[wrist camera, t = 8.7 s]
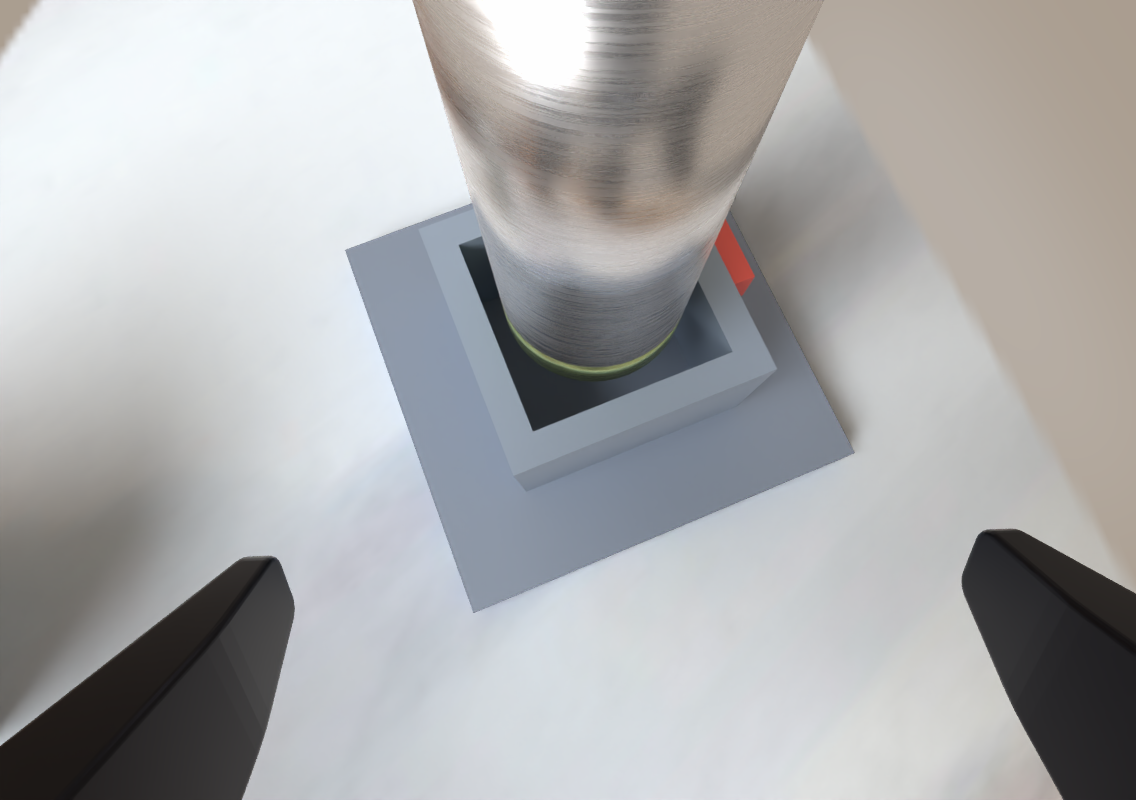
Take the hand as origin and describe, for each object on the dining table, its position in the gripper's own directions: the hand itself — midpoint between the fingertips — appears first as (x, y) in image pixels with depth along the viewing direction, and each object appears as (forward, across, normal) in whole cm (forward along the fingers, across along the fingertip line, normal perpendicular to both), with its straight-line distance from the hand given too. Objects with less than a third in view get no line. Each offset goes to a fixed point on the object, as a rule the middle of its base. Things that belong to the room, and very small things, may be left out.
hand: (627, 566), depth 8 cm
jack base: (+12, 0, +3) cm, 13 cm away
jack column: (+9, 0, 0) cm, 9 cm away
